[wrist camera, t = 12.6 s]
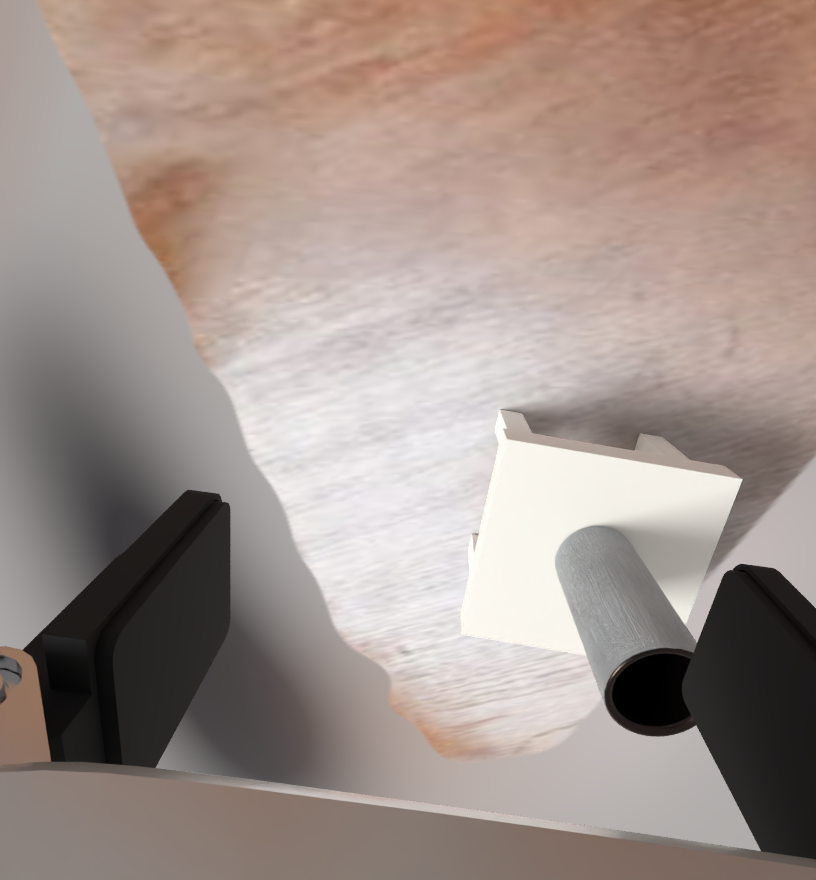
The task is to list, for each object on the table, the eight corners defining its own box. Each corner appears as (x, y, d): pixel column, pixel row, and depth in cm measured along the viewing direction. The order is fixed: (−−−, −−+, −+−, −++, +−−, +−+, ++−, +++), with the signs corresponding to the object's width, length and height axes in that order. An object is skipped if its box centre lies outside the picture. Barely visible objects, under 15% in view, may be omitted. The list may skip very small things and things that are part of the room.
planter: (650, 556, 31) (745, 691, 22) (593, 606, 33) (659, 755, 23) (593, 510, 31) (665, 628, 21) (537, 563, 32) (580, 698, 22)
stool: (491, 398, 38) (506, 439, 30) (675, 429, 38) (742, 479, 30) (457, 558, 42) (461, 634, 34) (622, 586, 42) (667, 669, 34)
